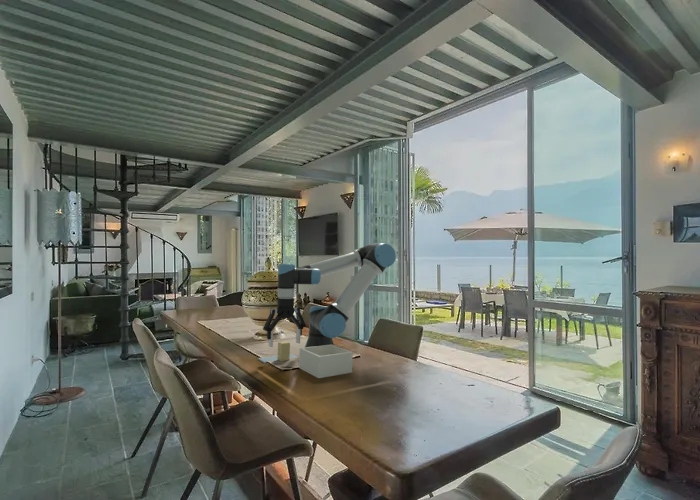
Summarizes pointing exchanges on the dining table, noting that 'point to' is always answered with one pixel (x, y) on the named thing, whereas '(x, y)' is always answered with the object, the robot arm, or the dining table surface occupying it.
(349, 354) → the box
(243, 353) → the dining table surface
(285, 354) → the lid
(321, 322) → the robot arm
